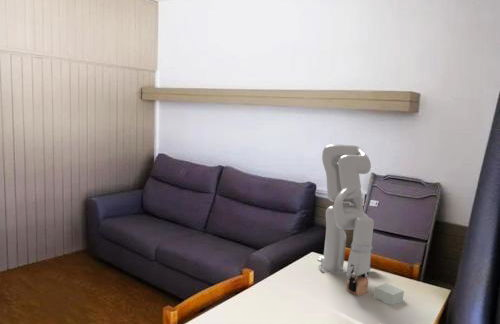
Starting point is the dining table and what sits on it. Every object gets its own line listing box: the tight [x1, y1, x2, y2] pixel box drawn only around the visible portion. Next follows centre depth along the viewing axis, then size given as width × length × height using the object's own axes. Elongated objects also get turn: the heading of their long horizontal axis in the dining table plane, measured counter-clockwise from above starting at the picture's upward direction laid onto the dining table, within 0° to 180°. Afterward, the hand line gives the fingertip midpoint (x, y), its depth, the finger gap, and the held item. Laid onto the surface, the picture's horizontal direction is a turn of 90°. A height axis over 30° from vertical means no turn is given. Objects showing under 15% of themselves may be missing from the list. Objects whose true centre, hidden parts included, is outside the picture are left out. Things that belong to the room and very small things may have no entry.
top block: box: [345, 275, 369, 297], centre depth 168 cm, size 6×6×6 cm
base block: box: [373, 282, 404, 306], centre depth 164 cm, size 8×8×4 cm
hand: (356, 288), depth 168 cm, fingers closed on top block, 6 cm apart
